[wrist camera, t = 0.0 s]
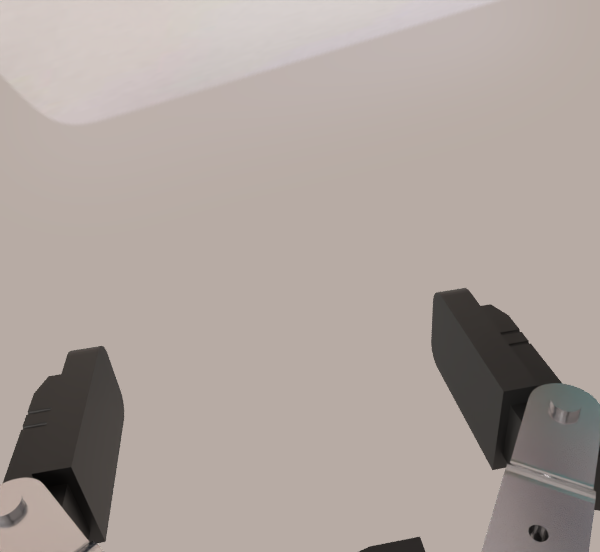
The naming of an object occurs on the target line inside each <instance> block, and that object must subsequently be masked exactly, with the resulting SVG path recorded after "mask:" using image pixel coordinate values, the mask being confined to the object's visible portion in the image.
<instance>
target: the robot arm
mask: <svg viewBox="0 0 600 552" xmlns="http://www.w3.org/2000/svg"><path fill="white" fill-rule="evenodd" d="M431 343H432V352H433V357H434V360H435V363H436V365H437V368H438V369H439V371H440V373H441V375H442V377H443V379H444V381H445V382H446V384H447V386H448V388H449V390H450V392H451V394H452V395H453V397H454V399H455V401H456V403H457V405H458V406H459V408H460V410H461V412H462V414H463V416H464V418H465V420H466V421H467V423H468V425H469V427H470V429H471V431H472V433H473V434H474V436H475V438H476V440H477V442H478V444H479V446H480V448H481V449H482V451H483V453H484V455H485V457H486V459H487V460H488V462H489V464H490V466H491V468H492V470H495V469H500V468H506V469H505V473H504V476H503V480H502V483H501V486H500V490H499V493H498V497H497V500H496V504H495V507H494V510H493V514H492V517H491V521H490V524H489V528H488V532H487V535H486V538H485V541H484V545H483V548H482V552H589V544H590V537H591V530H592V522H593V515H594V510H600V404H599V403H598V402H597V400H596V399H595V398H593V396H591V395H590V394H589V393H587V392H585V391H584V390H582V389H579V388H577V387H574V386H571V385H567V384H562V383H561V381H560V380H559V379H558V378H557V376H556V375H555V374H554V372H553V371H552V370H551V369H550V367H549V366H548V365H547V364H546V362H545V361H544V360H543V359H542V357H541V356H540V355H539V354H538V352H537V351H536V350H535V349H534V347H533V346H532V345H531V344H529V343H528V340H527V339H526V337H525V336H524V335H523V333H522V332H520V331H519V328H518V327H517V326H516V325H515V323H514V322H513V321H512V320H511V318H510V317H509V316H508V315H507V314H505V313H504V312H502V311H500V310H499V309H497V308H495V307H494V306H492V305H485V306H480V305H479V303H478V302H477V301H476V299H475V298H474V297H473V295H472V294H471V293H470V291H469V290H468V289H466V288H462V289H457V290H450V291H444V292H438V293H435V295H434V299H433V317H432V340H431ZM123 421H124V405H123V399H122V394H121V391H120V388H119V385H118V383H117V380H116V377H115V374H114V371H113V368H112V366H111V363H110V360H109V357H108V354H107V352H106V350H105V348H104V347H103V346H99V347H93V348H87V349H81V350H74V351H70V352H69V353H68V355H67V358H66V362H65V364H64V368H63V371H62V374H61V375H55V376H49V377H48V378H47V379H46V380H45V381H44V383H43V384H42V385H41V386H40V387H39V389H38V390H37V391H36V392H35V393H34V396H33V398H32V401H31V404H30V407H29V410H28V415H26V418H25V421H24V424H23V430H21V433H20V435H19V438H18V441H17V444H16V447H15V450H14V453H13V456H12V458H11V461H10V464H9V467H8V470H7V473H6V475H5V478H4V482H3V484H1V485H0V552H104V551H103V550H102V549H101V548H100V546H99V545H98V544H97V543H101V542H105V541H106V534H107V528H108V521H109V515H110V508H111V501H112V495H113V488H114V481H115V475H116V468H117V461H118V455H119V448H120V441H121V435H122V428H123ZM360 552H425V550H424V547H423V544H422V541H421V538H420V537H416V538H411V539H406V540H401V541H396V542H391V543H386V544H381V545H376V546H371V547H368V548H366V549H364V550H361V551H360Z"/></svg>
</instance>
